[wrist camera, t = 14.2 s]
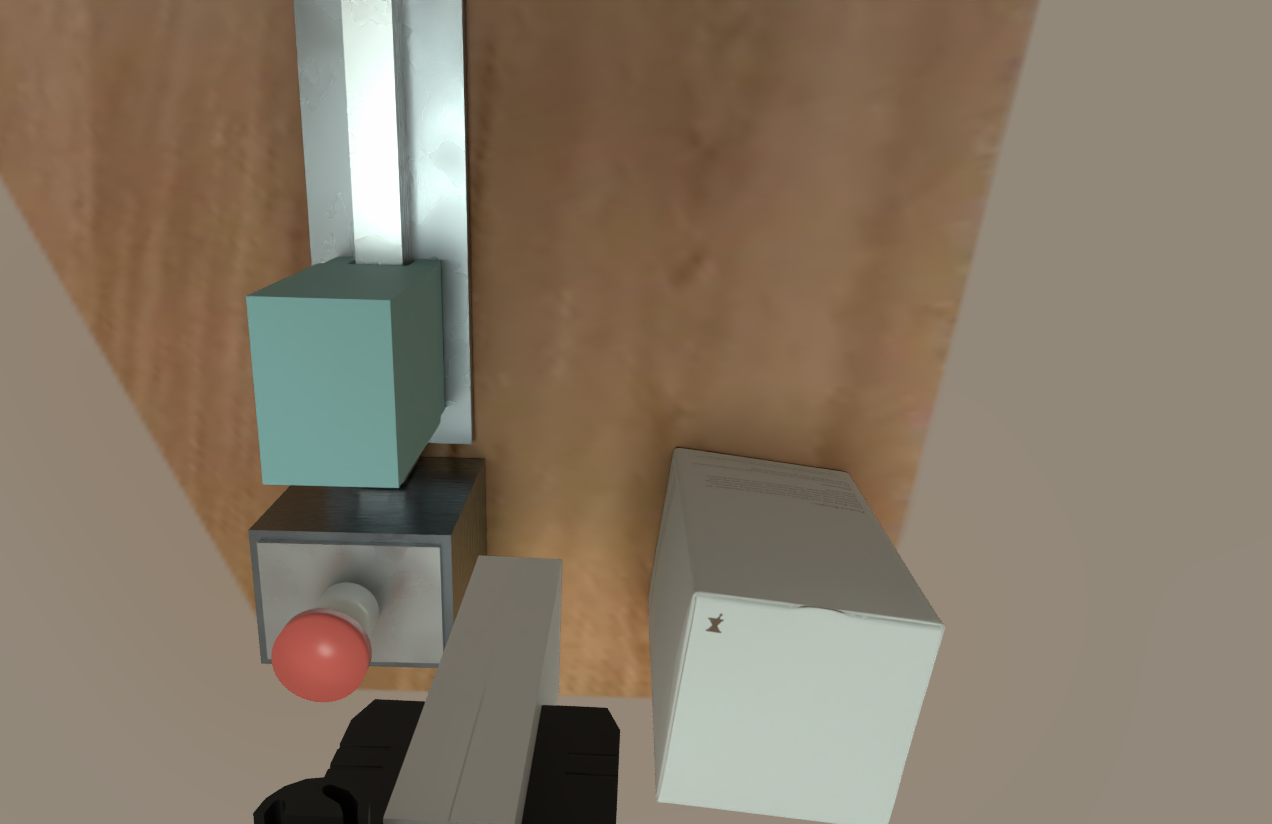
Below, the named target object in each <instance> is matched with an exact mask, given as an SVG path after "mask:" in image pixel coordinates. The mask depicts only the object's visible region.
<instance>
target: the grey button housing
mask: <svg viewBox="0 0 1272 824" xmlns="http://www.w3.org/2000/svg"><path fill="white" fill-rule="evenodd" d="M249 540H250V550H251V561H252V571H253V581H254V592H255V602H256V612H257V623H258V633H259V643H260V654H261V663H266V664H272V660H271V654H272V648H273V644H274V642H275V640H276V638H277V637H278V635H279V634H280V632H281V631H282V630H283V628H284V627H285V625H286V624H287V623H288V622H289V620H290V619H292V618H293V617H294V616H295V615H297V614H299V613H301V612H303V611H306V610H309V609H313V608H314V606H315V605H316V603H317V602H318V600H319V599H320V597H321V596H322V594H323V593H324V592H325V591H326V590H327V589H328V588H329V587H331V586H333V585H335V584H338V583H343V582H349V583H355V584H358V585H361V586H363V587H364V588H366V589H367V590H369V591H370V592H371V593H372V594H373V596H374V597H375V599H376V600H377V603H378V606H379V617H378V621H377V623H376V625H375V626H374V628H373V630H372V632H371V634H370V636H369V639H370V643H371V647H372V658H371V663H370V666H383V667H422V668H438V666H439V663H440V660H441V658H442V655H443V652H444V649H445V647H446V644H447V641H448V638H449V636H450V633H451V630H452V627H453V625H454V622H455V619H456V617H457V614H458V611H459V608H460V606H461V603H462V600H463V597H464V595H465V592H466V589H467V586H468V584H469V581H470V578H471V575H472V573H473V570H474V567H475V564H476V562H477V559H478V556H479V555H480V556H487V537H486V481H485V459H481V458H444V457H420V459H419V460H418V462H417V463H416V465H415V467H414V468H413V470H412V471H411V473H410V474H409V476H408V478H407V479H406V481H405V482H404V483H402V484H401V485H400V487H399V488H378V487H341V486H304V485H291V486H290V487H289V488H288V489H287V490H286V491H285V492H284V493H283V494H282V495H281V496H280V497H279V498H278V499H277V500H276V501H275V502H274V504H273V505H272V506H271V507H270V508H269V509H268V510H267V511H266V512H265V513H264V514H263V515H262V516H261V517H260V518H259V519H258V521H257V522H256V523H255V524H254V525H253V526H252V527H251V528H250V529H249Z"/></svg>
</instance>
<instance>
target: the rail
mask: <svg viewBox="0 0 1272 824" xmlns="http://www.w3.org/2000/svg"><path fill="white" fill-rule="evenodd" d="M293 2H294V17H295V31H296V45H297V60H298V74H299V88H300V103H301V117H302V132H303V146H304V160H305V175H306V189H307V204H308V218H309V232H310V247H311V261H312V266H313V265H316V264H318V263H325V262H327V261H329V260H331V259H334V258H336V257H356V264H367V265H402V266H408V265H410V264H411V263H413V262H414V261H416V260H417V259H431V260H440V264H441V297H442V330H443V363H444V396H445V410H444V412H443V413H442V415H441V423H440V425H439V426H438V428H437V429H436V431H435V432H434V434H433V436H432V437H431V439H430V440H429V442H428V443H447V444H472V443H473V441H474V397H473V350H472V304H471V257H470V210H469V163H468V116H467V69H466V22H465V0H293ZM419 459H420V457H418V459H417V460H416V462H415V464H414V465H413V467H412V468H411V470H410V471H409V473H408V474H407V476H406V478H405V479H404V481H403V482H402V483H404V482H405V481H406V479H407V478H408V476H409V474H410V473H411V471H412V470H413V468H414V467H415V465H416V463H417V462H418V460H419Z"/></svg>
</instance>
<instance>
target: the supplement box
mask: <svg viewBox="0 0 1272 824" xmlns="http://www.w3.org/2000/svg"><path fill="white" fill-rule="evenodd" d="M648 615H649V640H650V661H651V683H652V705H653V730H654V756H655V785H656V800H657V801H658V802H665V803H674V804H682V805H690V806H699V807H707V808H715V809H723V810H731V811H739V812H747V813H755V814H763V815H771V816H779V817H787V818H795V819H803V820H811V821H819V822H827V823H836V824H888V823H889V819H890V816H891V812H892V809H893V806H894V803H895V799H896V795H897V791H898V788H899V785H900V780H901V777H902V773H903V769H904V765H905V762H906V758H907V755H908V751H909V748H910V744H911V741H912V737H913V733H914V730H915V727H916V723H917V720H918V716H919V713H920V710H921V706H922V702H923V699H924V696H925V693H926V690H927V686H928V683H929V679H930V676H931V672H932V669H933V666H934V662H935V659H936V656H937V653H938V650H939V646H940V643H941V640H942V637H943V633H944V630H945V625H944V624H943V623H942V621H941V620H940V618H939V617H938V616H937V614H936V613H935V611H934V609H933V608H932V606H931V605H930V603H929V602H928V600H927V599H926V597H925V595H924V594H923V592H922V591H921V589H920V587H919V586H918V584H917V583H916V581H915V579H914V578H913V576H912V575H911V573H910V571H909V570H908V568H907V567H906V565H905V563H904V562H903V560H902V559H901V557H900V555H899V554H898V552H897V550H896V549H895V547H894V546H893V544H892V542H891V541H890V539H889V538H888V536H887V535H886V533H885V531H884V530H883V528H882V526H881V525H880V523H879V522H878V520H877V518H876V517H875V515H874V514H873V512H872V510H871V509H870V507H869V505H868V504H867V502H866V501H865V499H864V498H863V496H862V494H861V493H860V491H859V490H858V488H857V486H856V485H855V483H854V481H853V480H852V478H851V476H850V475H849V474H848V473H847V472H842V471H835V470H829V469H822V468H815V467H808V466H801V465H794V464H787V463H780V462H774V461H767V460H760V459H753V458H746V457H740V456H733V455H726V454H719V453H712V452H705V451H698V450H691V449H683V448H676V449H674V452H673V457H672V462H671V467H670V473H669V479H668V485H667V490H666V496H665V502H664V508H663V513H662V519H661V525H660V530H659V536H658V541H657V547H656V553H655V558H654V564H653V569H652V575H651V582H650V589H649V596H648Z"/></svg>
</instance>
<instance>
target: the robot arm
mask: <svg viewBox="0 0 1272 824" xmlns="http://www.w3.org/2000/svg"><path fill="white" fill-rule="evenodd" d="M561 591H562V559H543V558H522V557H501V556H480V555H479V556H478V559H477V562H476V564H475V567H474V570H473V573H472V575H471V578H470V581H469V584H468V586H467V589H466V592H465V595H464V597H463V600H462V603H461V606H460V608H459V611H458V614H457V617H456V619H455V622H454V625H453V627H452V630H451V633H450V636H449V638H448V641H447V644H446V647H445V649H444V652H443V655H442V658H441V660H440V663H439V666H438V669H437V671H436V674H435V677H434V680H433V682H432V685H431V688H430V691H429V693H428V696H427V699H426V702H423V701H402V700H400V701H399V700H379V699H375V700H374V701H372V702H371V703H370V704H369V705H368V706H367V707H366V708H364V709H363V710H362V711H361V712H360V713H359V714H358V715H356V716H355V717H354V718H353V719H352V720H351V722H350V724H349V726H348V728H347V730H346V732H345V734H344V737H343V739H342V741H341V743H340V748H339V749H337V752H336V754H335V756H334V758H333V760H332V762H331V764H330V769H328V770H327V772H326V775H325V777H323V778H311V779H305V780H302V781H299V782H296V783H293V784H290V785H287V786H284V787H283V788H281V789H279V790H278V791H276V792H275V793H273V794H272V795H270V796H269V797H267V798H266V799H265V800H264V801H263V802H262V803H261V805H260V806H259V807H258V808H257V809H256V811H255V812H254V813H253V816H254V824H616V811H617V788H618V765H619V742H620V741H619V740H620V729H619V728H618V726H617V724H616V722H615V720H614V719H613V717H612V715H611V714H610V712H609V710H608V708H599V707H598V708H597V707H578V706H557V700H558V693H559V669H560V630H561Z"/></svg>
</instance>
